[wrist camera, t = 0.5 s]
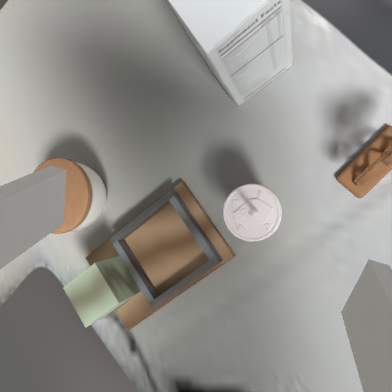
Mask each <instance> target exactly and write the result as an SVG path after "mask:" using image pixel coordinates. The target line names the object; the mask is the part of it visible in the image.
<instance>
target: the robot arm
mask: <svg viewBox="0 0 392 392" xmlns="http://www.w3.org/2000/svg"><path fill="white" fill-rule="evenodd" d="M65 186H66V170H64V169H61V168H58V167H54V166H48V167H46V168H43V169H41V170H39V171H36V172H34V173H31V174H29V175H27V176H24V177H22V178H19V179H17V180H15V181H12V182H10V183H7V184H5V185H3V186H0V269H1V268H2V267H4V266H5V265H7V264H8V263H9V262H11V261H12V260H14V259H15V258H16V257H18V256H19V255H21V254H22V253H23V252H25V251H26V250H27V249H29V248H30V247H32V246H33V245H34V244H36V243H37V242H39V241H40V240H41V239H43V238H44V237H46V236H47V235H48V234H50V233H51V232H53V231H54V230H55V229H57V228H58V227H60V226H61V225H62V224H64V208H65ZM341 313H342V316H343V320H344V323H345V327H346V331H347V334H348V338H349V341H350V345H351V348H352V352H353V356H354V359H355V363H356V366H357V370H358V373H359V377H360V381H361V384H362V388H363V391H364V392H392V270H391V268H390V266H389V265H386V264H382V263H379V262H376V261H372V260H368V262H367V264H366V266H365V268H364V270H363V272H362V274H361V276H360V277H359V279H358V281H357V283H356V285H355V287H354V289H353V291H352V293H351V295H350V297H349V299H348V301H347V302H346V304H345V306H344V308H343V310H342V312H341Z"/></svg>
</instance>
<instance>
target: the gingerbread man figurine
mask: <svg viewBox="0 0 392 392" xmlns="http://www.w3.org/2000/svg"><path fill="white" fill-rule="evenodd" d="M391 170H392V126H388V127H387V128H386V129H385V130H384V131H383V132H382V133H381V134H380V135H379V136H378V137H377V138H376V139H375V140H374V141H373V142H372V143H371V144H370V145H369V146H368V147H367V148H366V149H365V150H364V151H363V152H362V153H361V154H360V155H359V156H357V157H356V158H355V159H354V160H353V161H352V162H351V163H350V164H349V165H348V166H347V167H346V168H345V169H344V170H343V171H342V172H341V173H340V174H339V175H338V176H337V178H336V179H337V181H338V182H339V183H341V184H342V185H343V186H344V187H345V188H346V189H348V190H349V191H350V192H351V193H352V194H354V195H355V196H356V197H357V198H362V197H363V196H364V195H365V194H367V193H368V192H369V191H370V190H371V189H372V188H373V187H374V186H375V185H376V184H377V183H378V182H379V181H380V180H381V179H382V178H383V177H384V176H385V175H386V174H387V173H388V172H390V171H391Z"/></svg>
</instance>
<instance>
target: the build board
mask: <svg viewBox="0 0 392 392" xmlns="http://www.w3.org/2000/svg"><path fill="white" fill-rule="evenodd" d="M234 256H235V254H234V253H233V251H232V250H231V249H230V247H229V246H228V244H227V243H226V241H225V240H224V239H223V237H222V236H221V234H220V233H219V231H218V230H217V229H216V227H215V226H214V224H213V223H212V221H211V220H210V219H209V217H208V216H207V214H206V213H205V211H204V210H203V209H202V207H201V206H200V204H199V203H198V201H197V200H196V199H195V197H194V196H193V194H192V193H191V191H190V190H189V189H188V187H187V186H186V184H185V183H184V182H180V183H179V184H178V185H176V186H175V187H174V188H173V189H171V190H169V191H168V192H167V193H166V194H164V195H163V196H162V197H161V198H159V199H158V200H157V201H156V202H154V203H153V204H152V205H151V206H149V207H148V208H147V209H146V210H144V211H143V212H142V213H141V214H139V215H138V216H137V217H136V218H134V219H133V220H132V221H131V222H129V223H128V224H127V225H126V226H124V227H123V228H122V229H121V230H119V231H118V232H117V233H116V234H114V235H113V236H112V237H111V238H109V240H107V241H106V242H105V243H104V244H102V245H101V246H100V247H99V248H97V249H96V250H95V251H94V252H92V253H91V254H90V255H89V256H87V257H86V259H87V261H88V263H89V265H90V267H89V268H88V269H86V270H85V271H84V272H83V273H81V274H80V275H79V276H77V277H76V278H75V279H74V280H72V281H71V282H70V283H69V284H67V285H66V286H65V287H63V288H64V290H65V292H66V293H67V295H68V297H69V299H70V301H71V302H72V304H73V306H74V308H75V310H76V311H77V313H78V315H79V316H80V318H81V320H82V322H83V324H84V326H85V327H88V326H89V325H91V324H93V323H95V322H96V321H98V320H100V319H101V318H103V317H105V316H107V315H108V314H110V313H112V312H113V311H115V310H116V311H117V312H118V314H119V316H120V317H121V319H122V321H123V322H124V324H125V326H126V328H127V329H128V330H130V329H131V328H132V327H134V326H135V325H137V324H138V323H140V322H141V321H142V320H144V319H145V318H147V317H148V316H150V315H151V314H153V313H154V312H155V311H157V310H158V309H160V308H161V307H163V306H164V305H165V304H167V303H168V302H170V301H171V300H173V299H174V298H176V297H177V296H178V295H180V294H181V293H183V292H184V291H186V290H187V289H189V288H190V287H191V286H193V285H194V284H196V283H197V282H199V281H200V280H201V279H203V278H204V277H206V276H207V275H209V274H210V273H212V272H213V271H214V270H216V269H217V268H219V267H220V266H222V265H223V264H224V263H226V262H227V261H229V260H230V259H232V258H233V257H234Z"/></svg>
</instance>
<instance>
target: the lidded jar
mask: <svg viewBox="0 0 392 392" xmlns="http://www.w3.org/2000/svg"><path fill="white" fill-rule="evenodd" d="M48 166H54V167H58V168H61V169H64V170H66V186H65V208H64V224H62V225H61V226H60V227H58V228H57V229H55V230H54V231H53V232H51V233H54V234H60V233H66V232H70V231H75V230H79V229H82V228H84V227H87V226H89V225H90V224H92V223H93V222H94V221H95V220H96V219H98V217H99V216H100V215H101V213H102V211H103V209H104V207H105V204H106V189H105V186H104V183H103V181H102V179H101V178H100V177H99V175H98V174H97V173H96V172H95V171H94V170H92V169H91V168H89V167H87V166H85V165H83V164H81V163H78V162H74V161H71V160H68V159H64V158H53V159H50V160H47V161H45V162H43V163H42V164H41V165H39V166H38V167H37V169H36V170H35V171H34V172H36V171H39V170H41V169H43V168H46V167H48ZM34 172H33V173H34Z"/></svg>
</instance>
